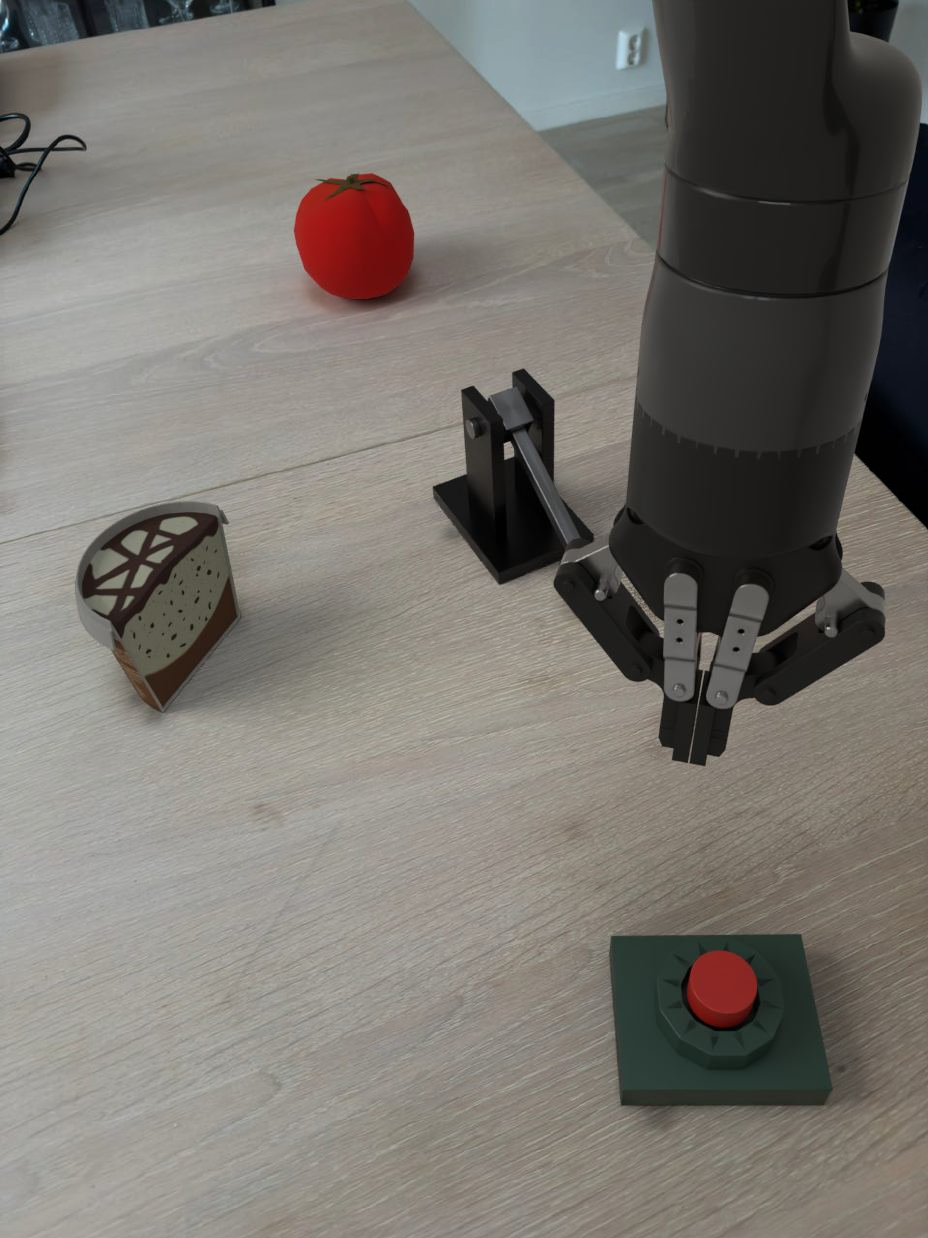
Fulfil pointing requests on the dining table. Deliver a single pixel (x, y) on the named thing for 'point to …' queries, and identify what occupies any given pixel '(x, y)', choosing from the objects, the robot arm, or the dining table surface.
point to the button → (721, 989)
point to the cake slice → (159, 594)
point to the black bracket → (505, 488)
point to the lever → (532, 459)
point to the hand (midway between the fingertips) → (691, 749)
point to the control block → (704, 1054)
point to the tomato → (355, 236)
